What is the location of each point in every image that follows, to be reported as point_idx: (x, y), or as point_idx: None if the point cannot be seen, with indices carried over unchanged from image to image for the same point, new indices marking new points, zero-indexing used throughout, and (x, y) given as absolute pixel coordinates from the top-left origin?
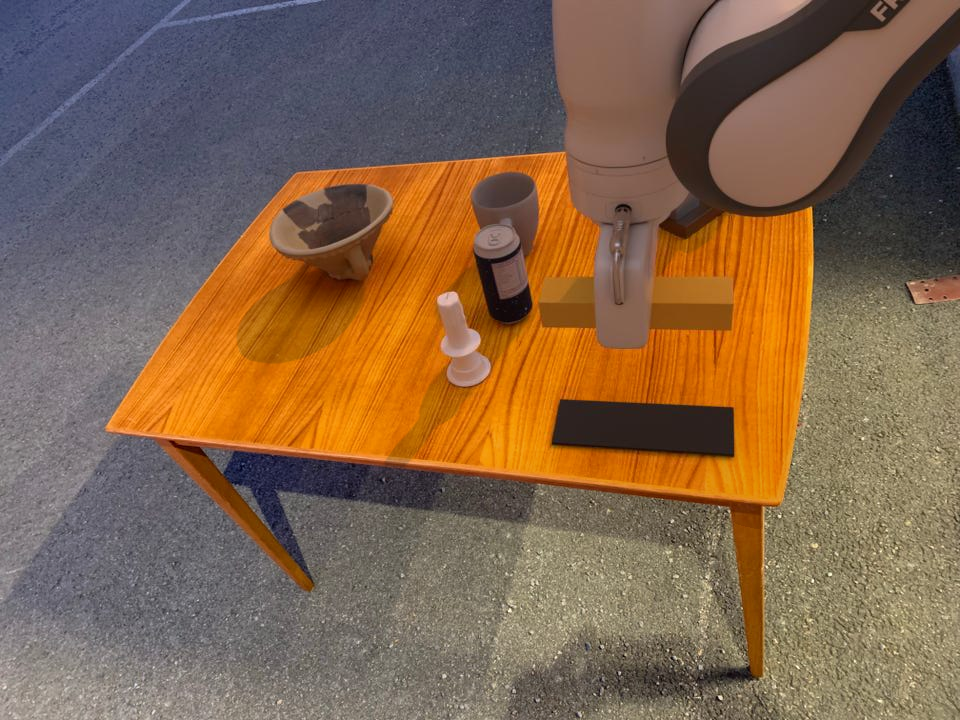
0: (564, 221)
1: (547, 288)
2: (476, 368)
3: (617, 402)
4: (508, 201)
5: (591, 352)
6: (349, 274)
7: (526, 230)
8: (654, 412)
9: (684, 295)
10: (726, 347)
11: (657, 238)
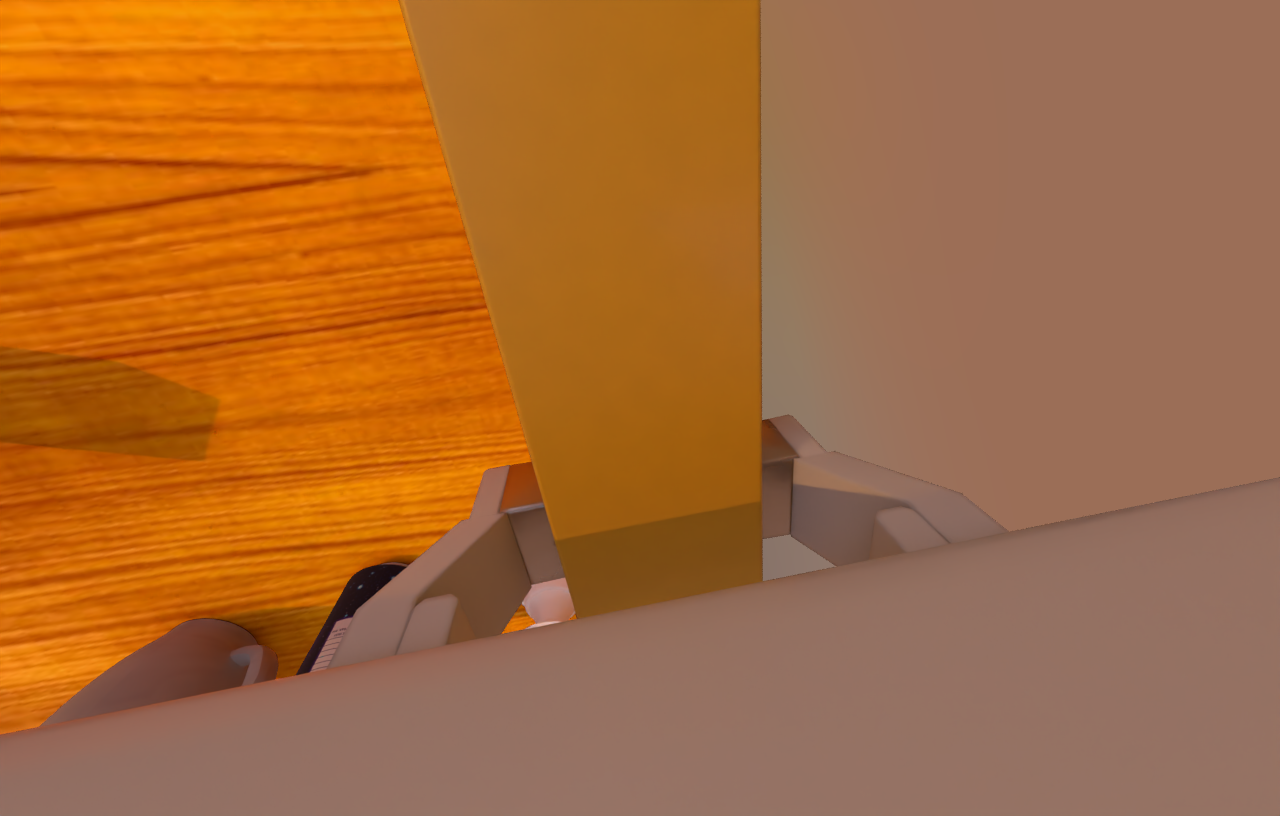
0: (58, 601)
1: None
2: (563, 587)
3: None
4: None
5: (441, 432)
6: None
7: (174, 680)
8: None
9: (683, 299)
10: (298, 148)
11: (390, 735)
